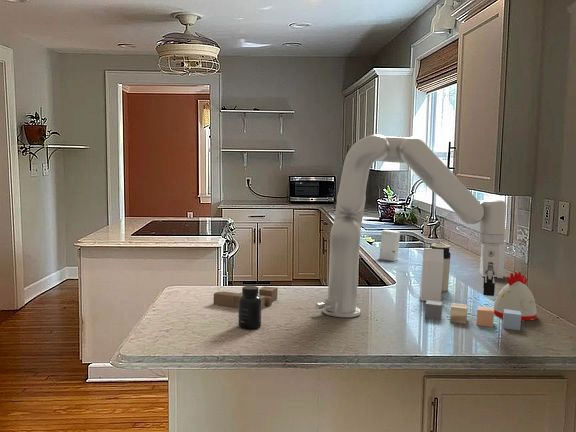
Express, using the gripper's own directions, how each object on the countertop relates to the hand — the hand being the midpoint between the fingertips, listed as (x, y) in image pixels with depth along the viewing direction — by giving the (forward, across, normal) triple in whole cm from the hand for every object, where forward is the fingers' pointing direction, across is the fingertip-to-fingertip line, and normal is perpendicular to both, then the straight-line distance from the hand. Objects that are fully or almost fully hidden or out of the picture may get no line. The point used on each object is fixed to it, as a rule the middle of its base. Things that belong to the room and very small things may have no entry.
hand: (488, 292), depth 185 cm
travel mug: (+10, +42, +18) cm, 47 cm away
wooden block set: (+10, -11, +79) cm, 80 cm away
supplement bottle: (+9, -36, +67) cm, 77 cm away
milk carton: (+10, +24, +20) cm, 33 cm away
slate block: (+11, 0, -7) cm, 13 cm away
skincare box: (+10, +100, +47) cm, 111 cm away
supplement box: (+11, +83, -2) cm, 84 cm away
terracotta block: (+10, 0, +1) cm, 11 cm away
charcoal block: (+10, 0, +17) cm, 20 cm away
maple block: (+10, 0, +9) cm, 14 cm away
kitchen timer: (+11, +16, -9) cm, 21 cm away
